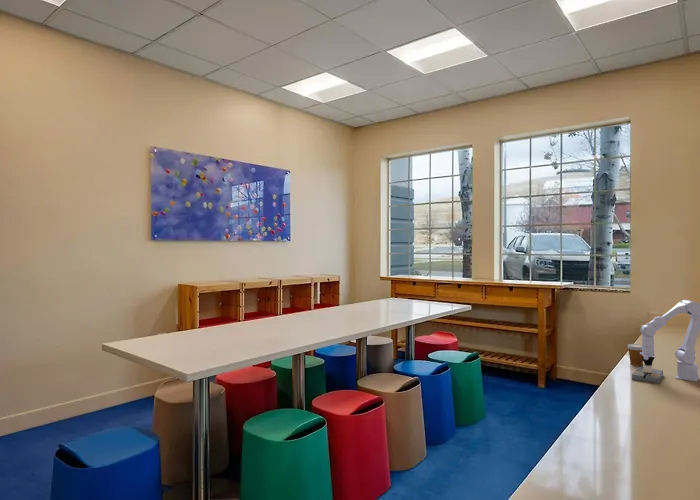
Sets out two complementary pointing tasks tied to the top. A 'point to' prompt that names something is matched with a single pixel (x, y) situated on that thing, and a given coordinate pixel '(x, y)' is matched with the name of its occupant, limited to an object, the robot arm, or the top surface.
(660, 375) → the fader console
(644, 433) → the top surface
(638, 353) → the disposable coffee cup
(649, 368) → the fader tab
